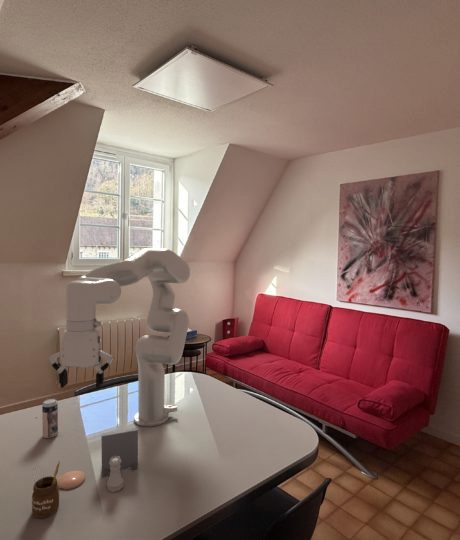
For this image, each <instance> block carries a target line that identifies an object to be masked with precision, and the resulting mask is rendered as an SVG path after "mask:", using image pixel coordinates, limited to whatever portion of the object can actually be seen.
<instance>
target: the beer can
mask: <svg viewBox="0 0 460 540" xmlns="http://www.w3.org/2000/svg"><path fill="white" fill-rule="evenodd" d="M41 404H42V405H41V409H42V413H41V415H42V418H41V419H42V437H43V438H45V439H52V438H54V436H55V437H56V436H57V435H58V434H59V422H58V421H59V414H58V413H59V412H58V411H59V408H58V405H59V404H58V401H57V399H56V398H47V399H45V400H44V401H43V402H42V403H41ZM51 437H52V438H51Z"/></svg>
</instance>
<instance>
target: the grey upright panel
mask: <svg viewBox="0 0 460 540" xmlns="http://www.w3.org/2000/svg"><path fill="white" fill-rule="evenodd" d="M100 437H101V474H102V477H103V478H105V477H110V472H111V470H110V467H111V466H110V464H109V461H110V459H111V457H113V458H114V456H116V457H117V456H119V457H120V459H121V463H120V466H121V467H120V471H121V470H126V469H132V471H133V472H134V471H137V470H139V466H138V465H139V429H138V427H133V428H126V429H122V430H115V431H108V432H104V433H101V436H100Z"/></svg>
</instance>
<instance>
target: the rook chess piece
mask: <svg viewBox="0 0 460 540" xmlns="http://www.w3.org/2000/svg"><path fill="white" fill-rule="evenodd" d="M120 463H121V459H120V457H119V456H117V457H116V456H114V458H113V457H111V459H110V461H109V464H110V466H111V467H110V470H111V472H109V476H108V477H109V478H108V479H107V481H106V489H107V490H108V491H109V492H112V493H113V492H114V493H115V492H118V491H121V490H122V489H123V487H124V485H125V483H124V478H123V476H122V474H121V470H120V467H121V466H120Z"/></svg>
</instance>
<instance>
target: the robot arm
mask: <svg viewBox="0 0 460 540" xmlns="http://www.w3.org/2000/svg"><path fill="white" fill-rule="evenodd" d="M190 269H191V268H190V266H189V264H188V263H187V261H186V260H184V259H183V258H182V257H181V256H180V255H178V254H177V253H176V252H174V251H173V250H171V249H168V248H161V247H160V248H159V247H157V248H155V247H147V248H142V249H141V250H138V251H137V252H135V253H134V254H131V255H130V256H128V257H127V258H125V259H123V260H121V261H117V262H114V263H110V264H107V265H104V266H100V267H97V268H95V269H92V270H89V271H88V272H86V273H84V274H82V275H81V276H79V277H77V279H76V280H72V281H69V282H68V283H67V284H66V286H65V293H66V294H65V297H66V298H65V299H66V301H65V303H66V305H65V306H66V307H65V311H66V314H65V316H66V317H65V318H66V319H65V320H66V321H65V322H66V324H65V325H66V326H65V327H66V329H65V330H63V336H62V340H61V349H60V351H58V352H55V353H54V354H51V355H50V356H49V357H48V360H49V361H50V364H51V366H52V368H53V369H55V370H56V373H57V374H58V383H59V384H60V389H62V388H65V387H66V385H68V383H69V382H68V378H69V377H68V370H67V368H93V369H94V370H95V371H96V372H97V373H96V374H95V388H97V389H98V388H99V389H100V387H101V386H102V385H103V383H104V380H105V379H104V378H105V377H104V376H105V374H104V373H105V372H104V371H106V370H107V369H108V368H109V367H110V366H111V363H112V362H113V360H114V356H113V354H110V353H107V352H106V351H104V350H103V349H102V348H103V347H102V338H101V333H100V329H99V328H98V327H101V325H102V322H101V321H99V320H98V319H97V315H96V314H97V311H96V310H97V309H96V307H97V305H110V304H113V303H115V302H117V301H118V300H119V299H120V298H121V295H122V287H127V286H131V285H135V284H137V283H138V282H139V281H141V280H142V279H144V278H145V277H146V276H147V277H148V280H149V282H150V285H151V288H152V297H151V301H150V306H149V310H148V315H147V320H146V327H147V329H148V330H150V331H151V332H153V333H154V332H156V333H162V334H169V336H162V335H157V334H156V335H154V334H145V335H142V336H141V337H139V338H138V340H137V341H136V344H135V356H136V359H137V366H138V367H137V368H138V370H137V371H138V375H137V377H138V379H137V380H138V398H137V399H138V401H137V402H138V410H137V412H136V413H135V415H134V416H133V421H134V423H135V424H136V425H139V426H140V427H141V426H142V427H156V426H160V425H163V424H164V423H166V422H167V421H169V413H176V412H178V406H173V404H168V405H167V404H165V395H166V394H165V392H166V391H165V390H166V389H165V381H166V380H165V378H166V377H165V375H166V374H165V368H164V365H163V364H166V365H176V364H178V363H179V362H180V361H181V358H182V356H183V352H184V348H185V343H186V339H187V334H188V331H189V321H190V320H189V315H188V313H187V312H186V310H184V309H181V308H175V307H174V305H175V298H176V295H175V292H174V289H173V288H172V286H171V284H184V283H186V282H187V281H188V280H189V279H190V276H191V270H190ZM58 358H60V362H59V361H58ZM103 359H105V360H106V361H105V363H104V364H103V363H102V360H103Z"/></svg>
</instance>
